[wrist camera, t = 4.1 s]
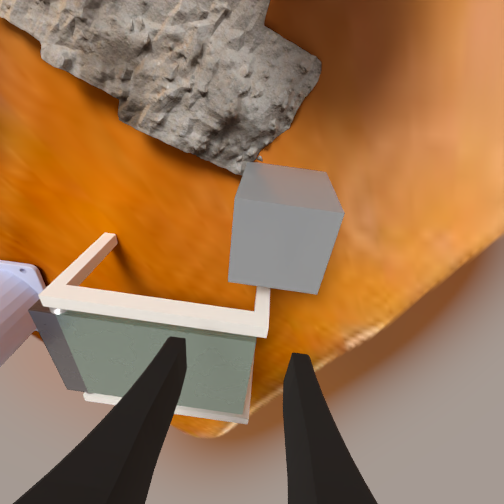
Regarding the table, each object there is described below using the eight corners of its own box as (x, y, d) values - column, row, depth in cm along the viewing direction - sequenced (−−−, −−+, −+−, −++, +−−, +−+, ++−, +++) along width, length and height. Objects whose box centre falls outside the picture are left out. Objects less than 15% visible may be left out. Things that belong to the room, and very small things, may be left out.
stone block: (240, 229, 19) (227, 281, 14) (247, 160, 16) (234, 197, 11) (308, 238, 18) (317, 294, 14) (326, 171, 16) (344, 213, 11)
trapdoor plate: (80, 371, 21) (68, 390, 19) (46, 288, 16) (26, 307, 15) (244, 395, 21) (242, 416, 19) (258, 319, 16) (256, 340, 15)
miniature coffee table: (126, 330, 25) (85, 400, 20) (104, 232, 19) (38, 295, 14) (254, 348, 25) (247, 424, 20) (271, 256, 19) (268, 328, 14)
